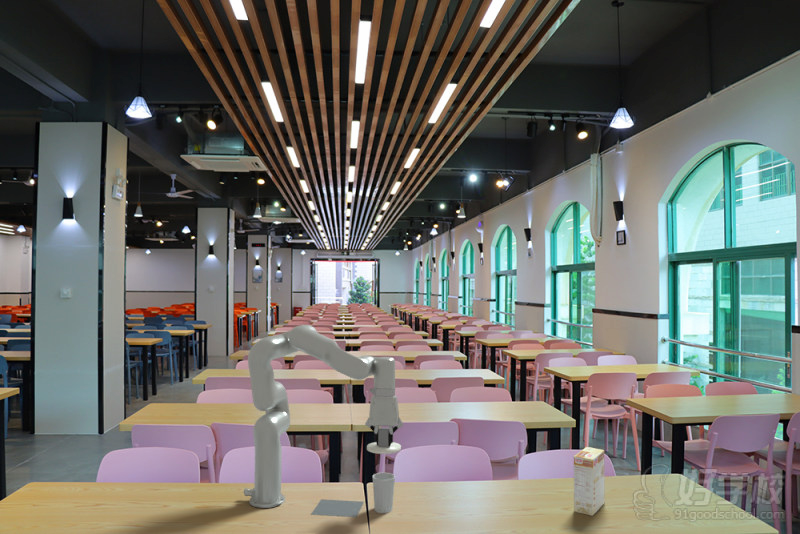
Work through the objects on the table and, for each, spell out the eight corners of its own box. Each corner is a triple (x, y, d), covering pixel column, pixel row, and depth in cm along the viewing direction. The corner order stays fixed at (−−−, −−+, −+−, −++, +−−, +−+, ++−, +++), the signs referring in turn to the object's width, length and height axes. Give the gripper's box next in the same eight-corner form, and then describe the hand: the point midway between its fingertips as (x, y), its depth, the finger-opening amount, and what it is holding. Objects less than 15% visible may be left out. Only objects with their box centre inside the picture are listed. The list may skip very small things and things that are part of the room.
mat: (310, 515, 196) (310, 514, 196) (321, 500, 210) (321, 499, 210) (356, 518, 194) (356, 517, 194) (364, 503, 208) (364, 501, 208)
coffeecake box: (586, 498, 214) (586, 446, 215) (605, 503, 210) (605, 449, 211) (572, 511, 202) (572, 455, 203) (593, 516, 198) (593, 459, 199)
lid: (364, 453, 196) (364, 432, 197) (370, 443, 208) (370, 424, 209) (398, 454, 195) (398, 433, 195) (402, 444, 207) (402, 425, 207)
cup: (392, 516, 196) (392, 480, 197) (369, 514, 198) (370, 479, 198) (396, 507, 204) (397, 473, 204) (375, 505, 206) (375, 471, 206)
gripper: (359, 393, 200) (358, 446, 199) (406, 395, 198) (406, 448, 197) (363, 389, 207) (362, 441, 206) (408, 391, 205) (408, 442, 204)
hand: (384, 444), depth 202 cm, fingers closed on lid, 3 cm apart
